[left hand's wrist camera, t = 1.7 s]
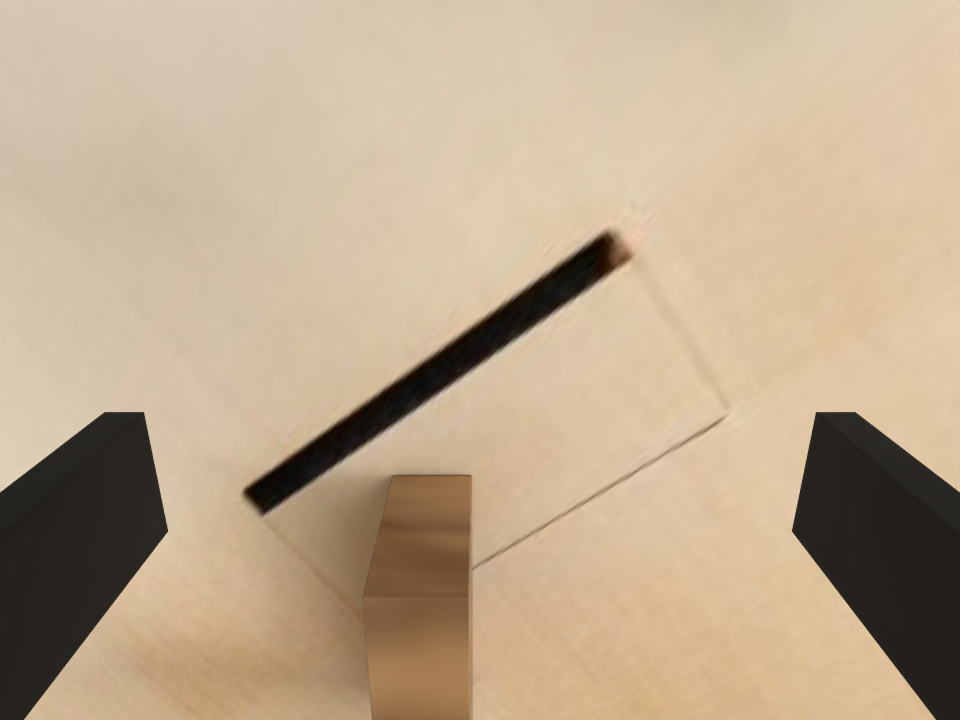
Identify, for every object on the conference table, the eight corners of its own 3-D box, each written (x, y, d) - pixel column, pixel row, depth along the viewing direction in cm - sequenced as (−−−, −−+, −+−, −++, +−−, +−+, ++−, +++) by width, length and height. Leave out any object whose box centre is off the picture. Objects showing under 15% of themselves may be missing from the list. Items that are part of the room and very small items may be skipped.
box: (392, 474, 46) (361, 597, 34) (471, 474, 46) (469, 597, 34) (404, 688, 53) (382, 852, 41) (472, 688, 53) (470, 852, 41)
